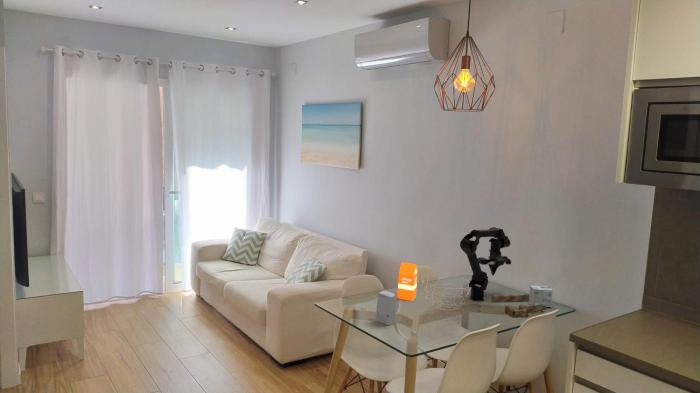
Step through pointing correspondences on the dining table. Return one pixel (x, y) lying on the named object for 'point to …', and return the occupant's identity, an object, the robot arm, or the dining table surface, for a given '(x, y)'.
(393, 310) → the skincare box
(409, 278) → the orange juice
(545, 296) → the light bulb box
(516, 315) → the corridor
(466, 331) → the dining table surface
